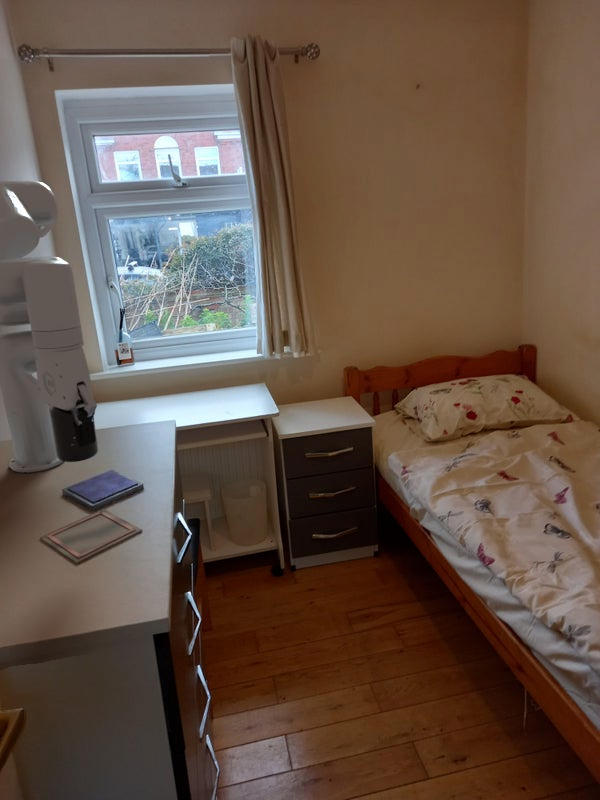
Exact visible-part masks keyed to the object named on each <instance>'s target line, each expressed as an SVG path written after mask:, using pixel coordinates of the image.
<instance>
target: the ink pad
mask: <svg viewBox="0 0 600 800" xmlns="http://www.w3.org/2000/svg"><path fill="white" fill-rule="evenodd" d="M144 486H145V485H144V483H142V482H140V481H137V480H136V479H133V478H132V477H129V476H127V475H125V474H122V473H121V472H118V471H116V470H114V469H110V470H108V471H105V472H102V473H100V474H97V475H96V476H92V477H90V478H87V479H85V480H82V481H79V482H77V483H75V484H72V485H70V486H68V487H64V488H62V489H61V491H62V492H61V493H62V495H63V496H65V497H67V498H68V499H70V500H72V501H74V502H76V503H77V504H79V505H81V506H83V507H85V508H86V509H88V510H89V511H91V512H94V511H95V512H96V511H97V510H99V509H100V510H101V509H102V508H104V507H107V506H109V505H111V504H113V503H115V502H117V501H120V500H122V499H124V498H127V497H129V496H131V495H133V494H136V493H138V492H140V491H142V490H145V487H144Z"/></svg>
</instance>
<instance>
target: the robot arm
mask: <svg viewBox="0 0 600 800" xmlns="http://www.w3.org/2000/svg"><path fill="white" fill-rule="evenodd" d="M58 217H59V205H58V202H57V198H56V196H55V193H54V192H53V191H52V189H51V188H50V187H49V186H48V185H47V184H45V183H44V182H41V181H34V180H0V327H2V328H5V327H6V328H8V327H17V326H26V325H27V326H28V325H29V326H30V330H23V331H22V330H21V331H15V332H14V331H13V332H8V333H4V334H0V392H1V395H2V401H3V405H4V409H5V414H6V419H7V423H8V424H7V425H8V428H9V429H8V430H9V434H10V439H11V443H12V448H13V453H14V457H12V458H11V459H10V460H9V462H8V465H9V468H11V469H12V470H11V469H10V470H11V471H13V472H16V473H25V472H26V473H35V472H42V471H46V470H49V469H52V468H54V467H57V466H58V465H60V464H62V463H63V462H64V461H61V460H60V459H59V458H58V457H57V453H56V448H55V442H54V435H53V429H52V423H51V417H50V411H51V409H52V408H53V407H57V408H59V409H62V410H65V411H68V410H71V412H72V415H73V417H74V420H75V422H76V424H75V425H74V430H75V436H76V442H77V446H78V447H83V446H86V445H89V444H91V443H94V442H95V441H96V437H97V436H96V437H95V431H94V424H93V421H94V422H95V417H94V416H95V413H96V409H97V407H98V404H97V402H96V400H95V399H94V394H93V393H94V392H93V386H92V380H91V375H90V371H89V367H88V366H89V365H88V363H87V358H86V355H85V351H84V348H83V346H84V345H85V342H84V337H83V330H82V324H81V323H82V322H81V317H80V310H79V304H78V298H77V292H76V285H75V277H74V272H73V268H72V265H71V264H70V263H69V262H68V261H65V260H64V259H63V258H61V257H58V256H40V257H39V256H38V257H37V256H36V257H26V256H28V255H29V254H30V253H32V252H33V251H35V249H36V248H37V247H38V245H39V243H40V239H41V238H44V237H45V236H47V234H48V233H49V232H50V231H51V230H52V229H53V227H54V226H55V225H56V223H57V221H58ZM34 373H36V377H37V378H36V377H35V376H33V374H34ZM80 401H82V403H83V404H80V405H76V402H80ZM75 405H76V406H75ZM82 408H84V411H82V412H81V414H80V415H79V413H78V409H82Z"/></svg>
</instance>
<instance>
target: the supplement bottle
mask: <svg viewBox="0 0 600 800" xmlns="http://www.w3.org/2000/svg"><path fill="white" fill-rule="evenodd" d="M80 404H83V403H82V401H80V402H76V405H80ZM76 405H75V406H76ZM82 411H84V408H82V409H78V413H79V415H80V414H81V412H82ZM50 417H51V423H52V429H53V435H54V442H55V448H56V453H57V457H58V458H59V459H60V460H61V461H63V462H65V463H66V462H67V463H76V462H82V461H87V460H90V459H91V458H93V457H95V456H96V455H97V454H98V452H99V446H98V439H97V431H96V423H95V420H94V421H93V424H94V431H95V437H96V441H95V442H94V443H91V444H89V445H86V446H83V447H78V446H77V442H76V436H75V430H74V425H75V424H76V422H75V420H74V417H73V415H72V412H71V410H68V411H65V410H62V409H59V408H57V407H53V408H52V409H51V411H50Z"/></svg>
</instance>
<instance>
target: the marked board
mask: <svg viewBox="0 0 600 800" xmlns="http://www.w3.org/2000/svg"><path fill="white" fill-rule="evenodd" d="M142 532H143V529H142V528H140V527H138V526H136V525H134V524H133V523H131V522H128V521H127V520H126V519H123V518H121V517H119V516H117V514H114V513H113V512H110V511H108V510H106V509H105V508H103V509H102V508H101V509H100V510H98V511H95V512H94V513H91V514H89V515H87V516H84V517H82V518H80V519H78V520H75V521H73V522H71V523H68V524H66V525H64V526H62V527H60V528H57V529H55V530H53V531H50V532H48V533H45V534H44V535H42V536H39V538H40V540H41V541H42V542H44V543H45V544H46V545H48V546H50V547H51V548H52V549H54V550H55V551H57V552H59V553H60V554H61V555H63V557H65V558H67V560H70V561H71V562H73V563H74V564H75V565H80V564H82V563H83V562H85V561H87V560H89V559H91V558H93V557H95V556H97V555H99V554H101V553H103V552H105V551H107V550H110V549H111V548H113V547H115V546H117V545H118V544H121V543H123V542H125V541H127V540H129V539H131V538H133V537H135V536H136V535H138V534H141V533H142Z"/></svg>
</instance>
